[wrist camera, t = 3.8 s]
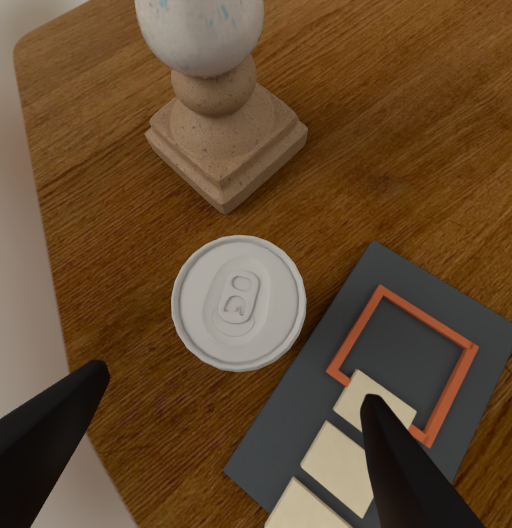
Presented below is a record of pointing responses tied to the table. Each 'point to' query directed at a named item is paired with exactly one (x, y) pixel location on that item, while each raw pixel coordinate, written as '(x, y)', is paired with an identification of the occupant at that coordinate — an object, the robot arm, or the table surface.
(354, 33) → the table surface
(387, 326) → the word mat
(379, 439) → the robot arm
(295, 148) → the candle holder
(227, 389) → the table surface
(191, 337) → the beverage can
